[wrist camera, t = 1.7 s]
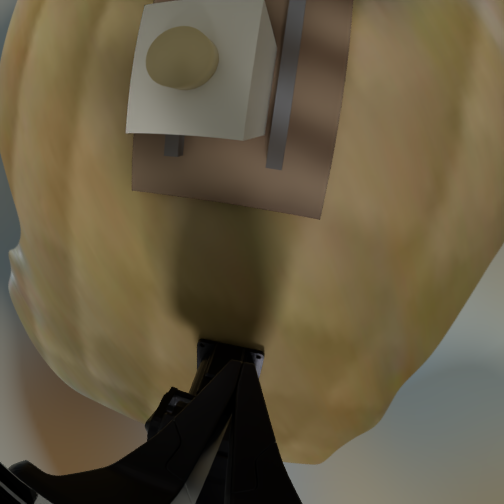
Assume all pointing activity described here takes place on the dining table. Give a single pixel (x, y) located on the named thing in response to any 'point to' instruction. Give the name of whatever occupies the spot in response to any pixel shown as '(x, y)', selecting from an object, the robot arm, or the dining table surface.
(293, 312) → the dining table surface
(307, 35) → the brown board with frame
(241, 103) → the white block with knob
